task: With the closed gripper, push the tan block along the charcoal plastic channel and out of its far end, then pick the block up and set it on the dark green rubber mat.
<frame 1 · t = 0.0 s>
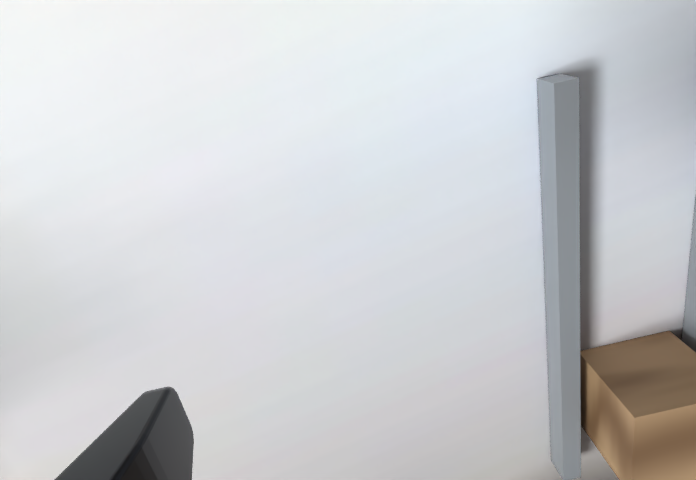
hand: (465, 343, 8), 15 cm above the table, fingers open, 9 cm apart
tan block: (621, 376, 28), on the table
channel: (626, 285, 26), on the table
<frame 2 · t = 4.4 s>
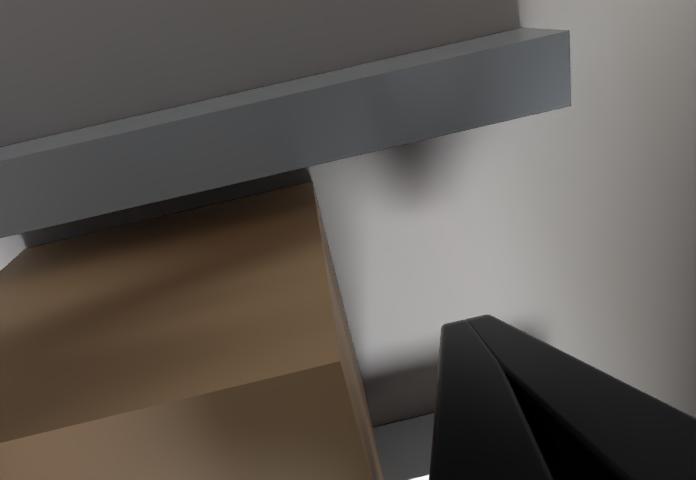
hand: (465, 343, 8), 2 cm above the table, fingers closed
tan block: (215, 334, 10), on the table, touching gripper
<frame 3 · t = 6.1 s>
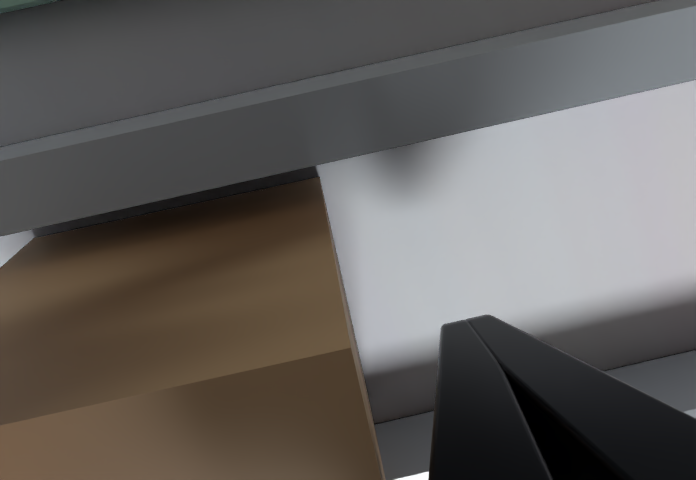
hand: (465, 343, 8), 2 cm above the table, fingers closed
tan block: (219, 326, 10), on the table, touching gripper
channel: (589, 246, 10), on the table
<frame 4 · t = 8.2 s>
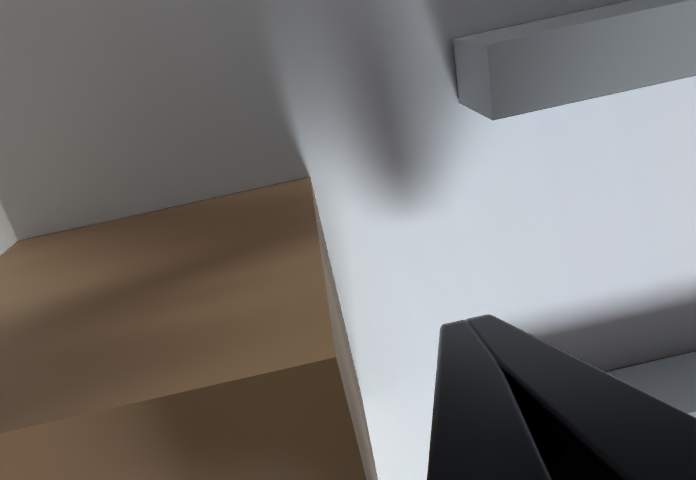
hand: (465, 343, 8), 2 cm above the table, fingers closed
tan block: (209, 330, 10), on the table, touching gripper
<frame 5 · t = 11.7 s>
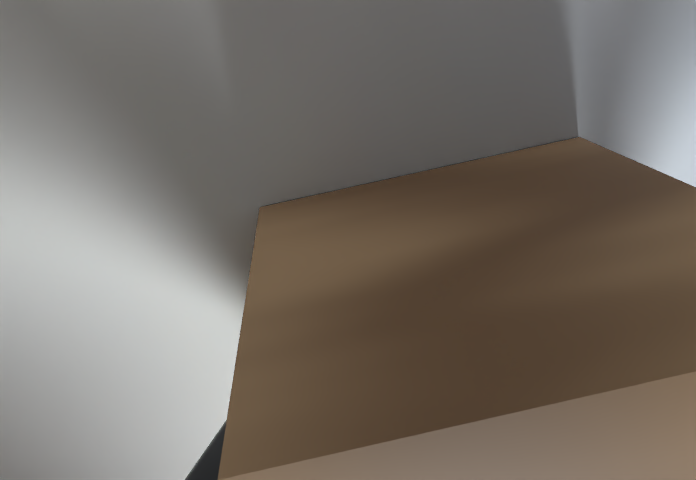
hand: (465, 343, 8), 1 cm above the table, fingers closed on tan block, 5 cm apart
tan block: (439, 308, 9), on the table, touching gripper
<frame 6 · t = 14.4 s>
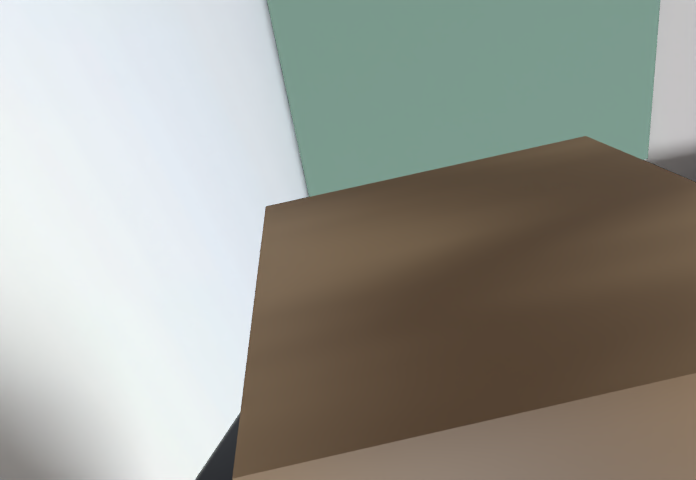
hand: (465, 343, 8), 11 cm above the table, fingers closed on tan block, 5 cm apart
tan block: (445, 308, 9), point 10 cm above the table, touching gripper
mat: (465, 7, 16), on the table
when the fingers open (4 cm above the table, at t = 16.6 s): tan block drops 2 cm, resting on mat.
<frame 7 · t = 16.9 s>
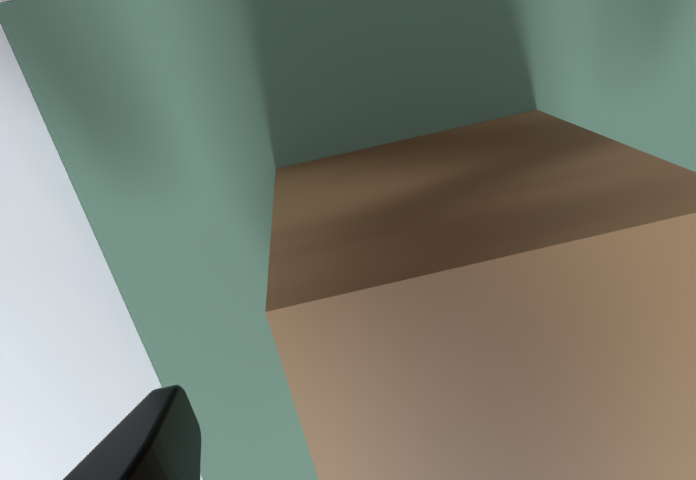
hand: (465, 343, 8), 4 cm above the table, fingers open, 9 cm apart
tan block: (424, 256, 11), point 1 cm above the table, touching mat
mat: (412, 245, 11), on the table
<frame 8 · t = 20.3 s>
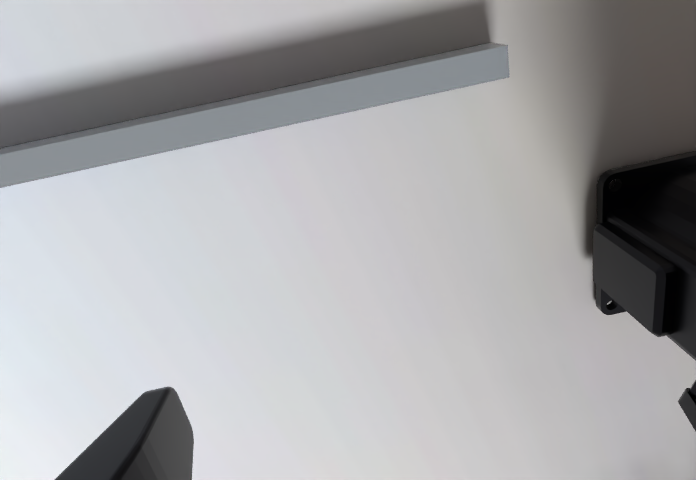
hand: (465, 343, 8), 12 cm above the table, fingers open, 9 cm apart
channel: (144, 9, 16), on the table
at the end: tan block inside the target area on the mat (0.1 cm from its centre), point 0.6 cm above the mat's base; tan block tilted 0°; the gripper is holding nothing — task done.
